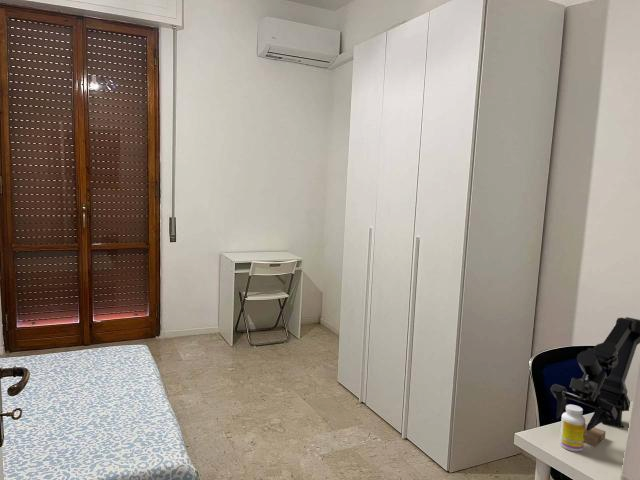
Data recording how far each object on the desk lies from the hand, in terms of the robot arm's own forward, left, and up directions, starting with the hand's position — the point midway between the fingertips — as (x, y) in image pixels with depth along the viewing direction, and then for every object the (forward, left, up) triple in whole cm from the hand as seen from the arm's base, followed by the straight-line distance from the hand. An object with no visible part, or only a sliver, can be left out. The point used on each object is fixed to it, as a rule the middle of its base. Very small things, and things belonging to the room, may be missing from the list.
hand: (571, 423), depth 145 cm
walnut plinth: (-9, +6, -8) cm, 13 cm away
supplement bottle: (-1, 0, -8) cm, 8 cm away
